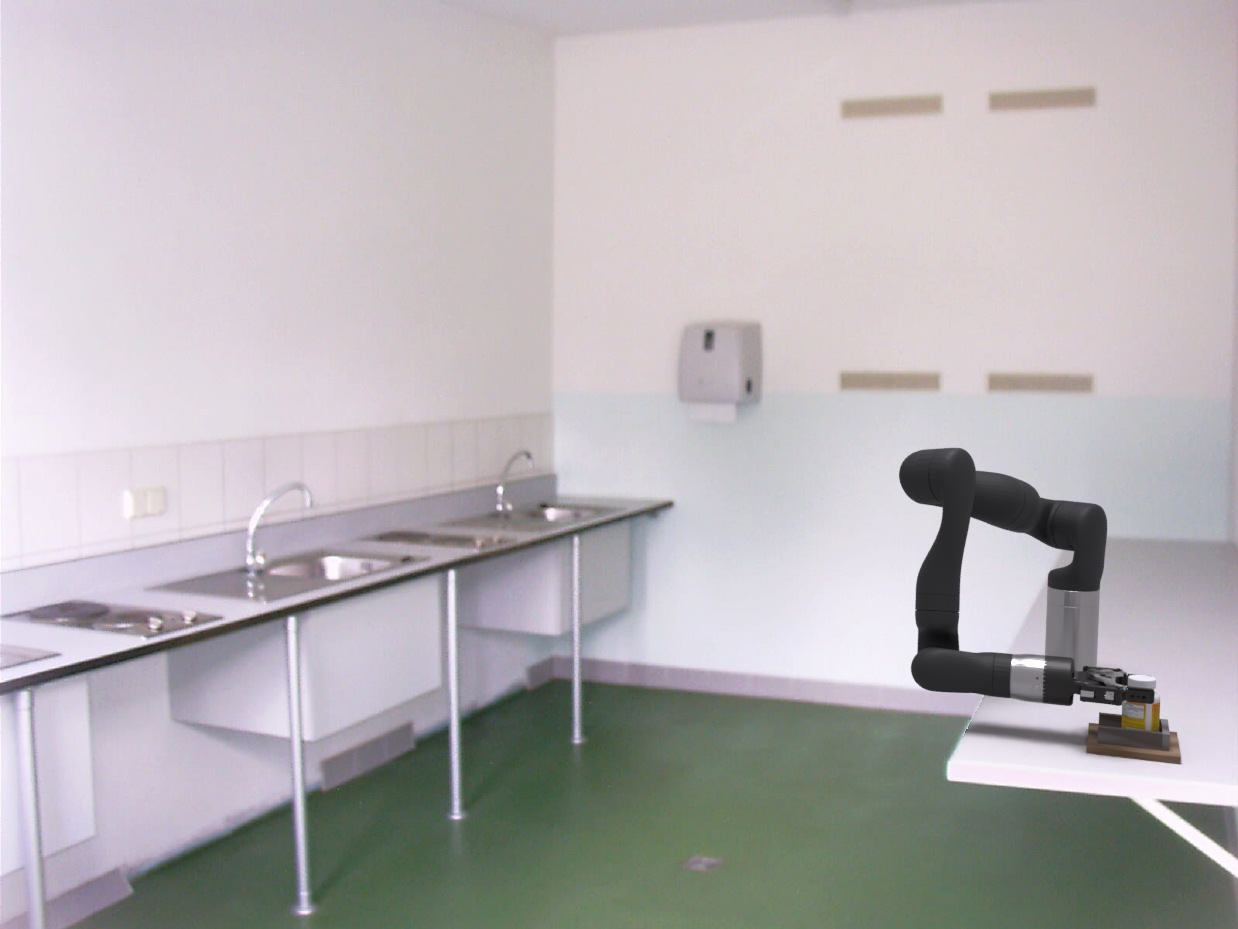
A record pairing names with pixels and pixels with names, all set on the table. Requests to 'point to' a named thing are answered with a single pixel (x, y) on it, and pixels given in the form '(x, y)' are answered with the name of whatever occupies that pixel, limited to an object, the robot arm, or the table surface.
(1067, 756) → the table surface
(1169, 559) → the table surface
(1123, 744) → the u holder
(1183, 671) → the table surface
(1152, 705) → the supplement bottle
